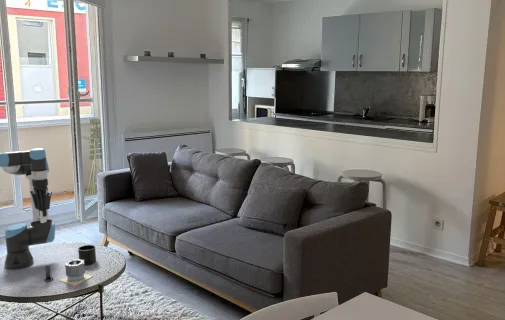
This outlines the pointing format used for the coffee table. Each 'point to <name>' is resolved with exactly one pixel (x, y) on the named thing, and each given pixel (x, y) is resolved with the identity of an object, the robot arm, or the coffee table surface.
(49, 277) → the stand
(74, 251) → the coffee table surface
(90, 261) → the black cup
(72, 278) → the hub
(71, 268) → the ring
